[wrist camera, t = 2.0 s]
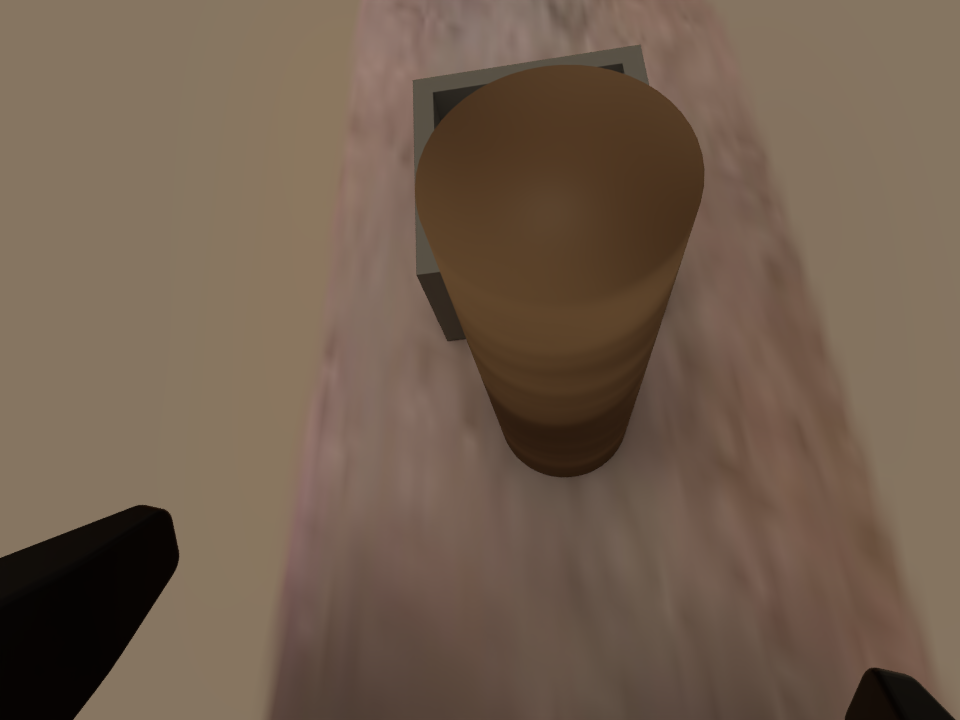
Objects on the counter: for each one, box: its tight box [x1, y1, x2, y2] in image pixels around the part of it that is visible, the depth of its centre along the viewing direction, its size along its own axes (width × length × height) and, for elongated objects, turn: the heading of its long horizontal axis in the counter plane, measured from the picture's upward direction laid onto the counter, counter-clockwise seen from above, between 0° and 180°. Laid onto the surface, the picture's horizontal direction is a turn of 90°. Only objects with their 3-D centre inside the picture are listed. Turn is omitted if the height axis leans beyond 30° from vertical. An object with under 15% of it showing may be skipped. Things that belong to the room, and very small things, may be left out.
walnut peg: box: [415, 65, 704, 477], centre depth 15 cm, size 4×4×13 cm
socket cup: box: [413, 45, 649, 341], centre depth 22 cm, size 8×8×5 cm
